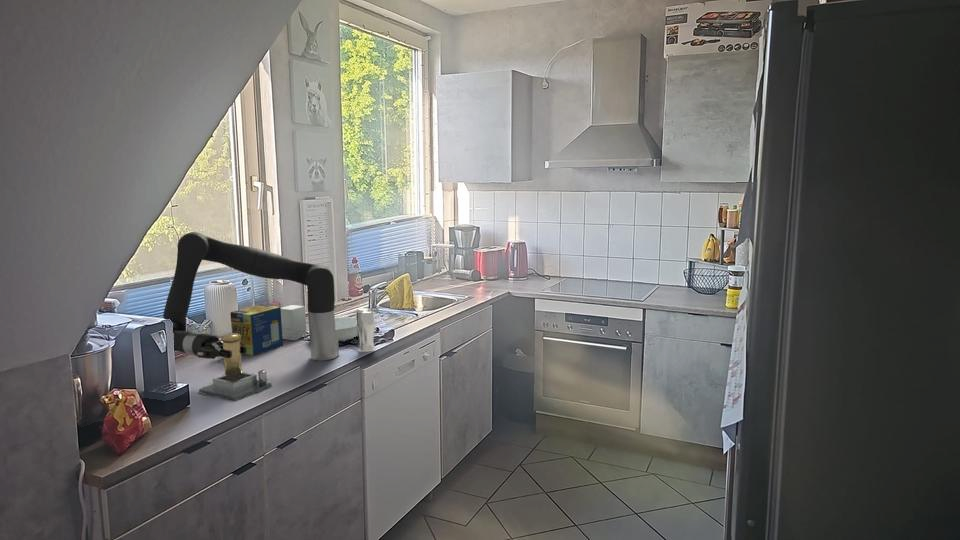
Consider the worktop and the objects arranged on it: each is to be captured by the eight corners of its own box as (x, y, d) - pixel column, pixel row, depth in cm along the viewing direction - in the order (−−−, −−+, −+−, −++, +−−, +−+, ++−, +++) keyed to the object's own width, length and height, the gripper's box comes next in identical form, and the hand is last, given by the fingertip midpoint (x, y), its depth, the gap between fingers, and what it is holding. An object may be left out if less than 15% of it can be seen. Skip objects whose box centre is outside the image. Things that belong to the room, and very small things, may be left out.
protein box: (232, 352, 239) (229, 312, 236) (264, 342, 252) (261, 303, 250) (253, 356, 234) (249, 314, 232) (284, 345, 248) (281, 306, 245)
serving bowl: (370, 332, 264) (370, 316, 263) (356, 347, 244) (355, 329, 243) (321, 332, 266) (320, 316, 265) (303, 346, 246) (302, 329, 245)
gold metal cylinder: (234, 369, 202) (232, 332, 200) (247, 371, 199) (244, 334, 197) (219, 374, 197) (217, 336, 195) (232, 377, 194) (229, 338, 193)
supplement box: (307, 336, 260) (305, 306, 258) (293, 341, 254) (291, 309, 252) (294, 334, 264) (292, 304, 262) (280, 338, 257) (278, 307, 255)
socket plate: (236, 378, 209) (235, 364, 208) (271, 386, 201) (270, 371, 200) (199, 392, 197) (197, 376, 196) (234, 400, 189) (233, 384, 188)
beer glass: (353, 350, 239) (351, 310, 237) (368, 346, 244) (367, 307, 242) (364, 353, 234) (362, 313, 232) (379, 349, 239) (377, 310, 237)
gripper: (180, 338, 197) (217, 346, 189) (219, 328, 210) (256, 334, 201) (182, 362, 199) (219, 370, 190) (221, 350, 211) (257, 358, 203)
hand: (238, 352), depth 196 cm, fingers closed on gold metal cylinder, 5 cm apart
